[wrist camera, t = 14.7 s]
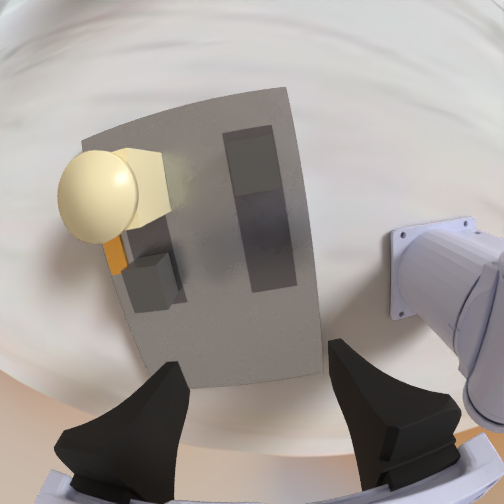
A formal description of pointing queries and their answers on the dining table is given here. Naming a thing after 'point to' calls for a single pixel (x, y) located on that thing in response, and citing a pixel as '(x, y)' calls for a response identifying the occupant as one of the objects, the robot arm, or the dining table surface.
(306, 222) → the panel
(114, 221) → the cap
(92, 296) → the dining table surface
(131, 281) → the breaker tagged
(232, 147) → the block
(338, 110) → the dining table surface
